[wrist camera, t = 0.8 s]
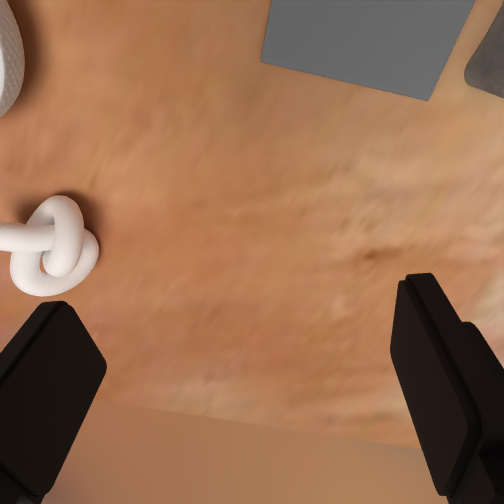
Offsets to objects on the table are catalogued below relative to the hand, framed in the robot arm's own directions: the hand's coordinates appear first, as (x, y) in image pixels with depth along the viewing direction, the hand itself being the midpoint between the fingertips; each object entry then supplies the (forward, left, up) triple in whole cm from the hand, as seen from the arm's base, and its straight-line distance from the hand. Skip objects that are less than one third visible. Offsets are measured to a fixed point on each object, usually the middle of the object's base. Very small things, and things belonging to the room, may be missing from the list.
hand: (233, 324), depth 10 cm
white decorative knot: (+21, -23, -31) cm, 44 cm away
